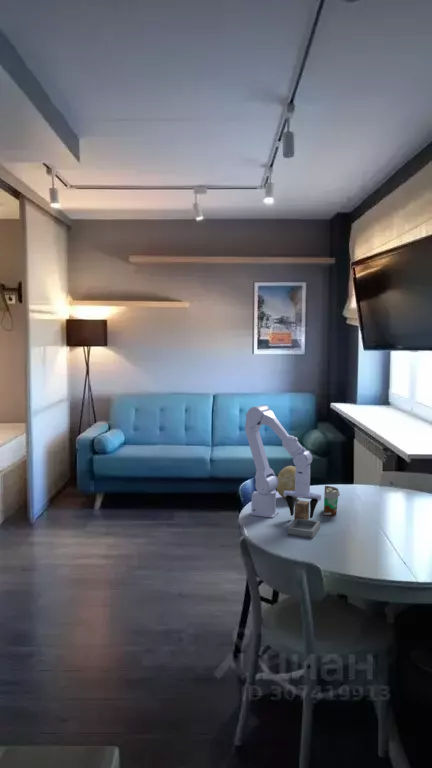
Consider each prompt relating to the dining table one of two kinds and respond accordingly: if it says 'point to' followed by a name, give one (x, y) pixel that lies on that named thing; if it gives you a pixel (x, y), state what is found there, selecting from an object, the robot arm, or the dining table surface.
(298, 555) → the dining table surface
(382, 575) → the dining table surface
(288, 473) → the fossilized egg
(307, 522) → the grey shallow tray
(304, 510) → the brown block
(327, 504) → the food container
